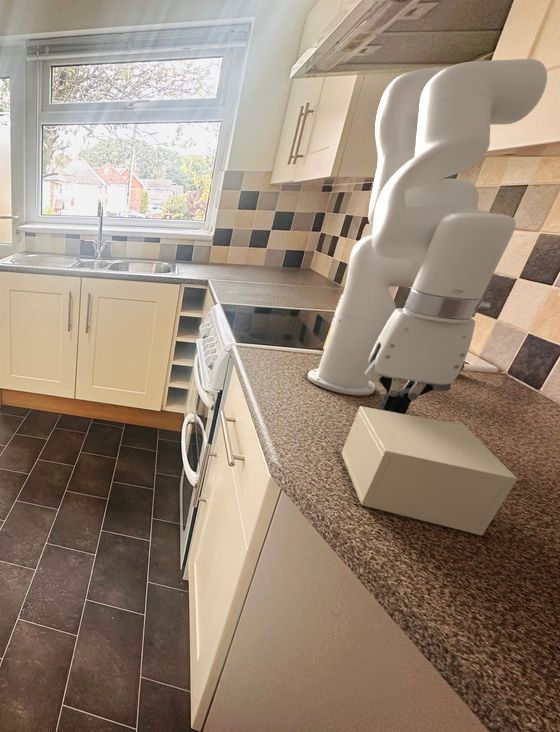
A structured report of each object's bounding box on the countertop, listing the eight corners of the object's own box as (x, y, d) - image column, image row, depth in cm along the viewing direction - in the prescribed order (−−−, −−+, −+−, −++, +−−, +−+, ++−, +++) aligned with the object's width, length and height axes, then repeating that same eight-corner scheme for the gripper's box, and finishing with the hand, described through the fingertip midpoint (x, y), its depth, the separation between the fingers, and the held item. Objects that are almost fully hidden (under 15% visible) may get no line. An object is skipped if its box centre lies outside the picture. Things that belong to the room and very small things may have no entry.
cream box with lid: (341, 453, 67) (359, 405, 63) (438, 474, 62) (464, 425, 59) (361, 505, 55) (385, 450, 52) (482, 535, 51) (518, 478, 47)
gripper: (493, 306, 60) (437, 416, 68) (370, 293, 65) (332, 397, 73) (522, 320, 54) (456, 439, 62) (383, 305, 59) (340, 416, 67)
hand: (389, 416), depth 68 cm, fingers closed
